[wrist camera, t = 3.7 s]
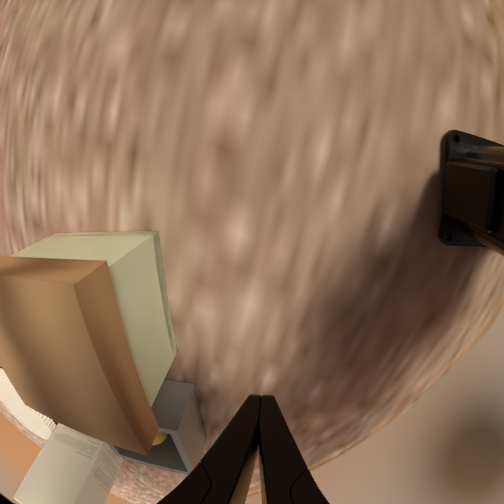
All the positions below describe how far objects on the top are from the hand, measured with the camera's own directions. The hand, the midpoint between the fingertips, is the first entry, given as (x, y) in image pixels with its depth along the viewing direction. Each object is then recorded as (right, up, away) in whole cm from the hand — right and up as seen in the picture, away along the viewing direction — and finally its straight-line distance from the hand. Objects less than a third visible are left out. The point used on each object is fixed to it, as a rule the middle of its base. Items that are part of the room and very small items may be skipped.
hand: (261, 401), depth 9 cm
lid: (-10, +1, +2) cm, 10 cm away
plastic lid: (-34, -17, +17) cm, 42 cm away
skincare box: (-21, -19, +17) cm, 33 cm away
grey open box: (-8, -8, +11) cm, 16 cm away
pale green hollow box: (-9, +3, +8) cm, 12 cm away
